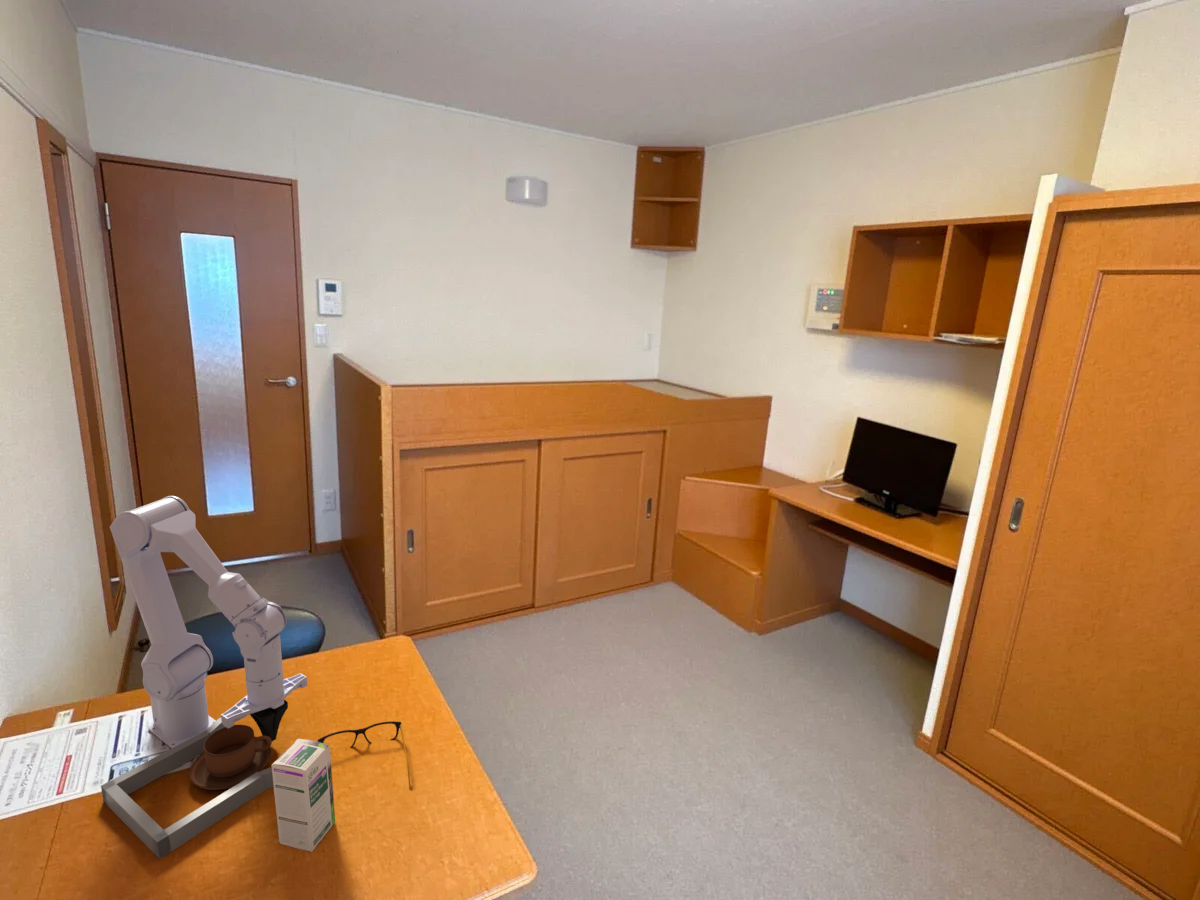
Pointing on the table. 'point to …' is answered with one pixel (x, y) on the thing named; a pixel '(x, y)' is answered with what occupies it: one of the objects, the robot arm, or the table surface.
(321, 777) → the syrup box
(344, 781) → the table surface
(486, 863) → the table surface
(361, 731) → the eyeglasses
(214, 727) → the bent grey bar frame
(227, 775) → the cup and saucer
